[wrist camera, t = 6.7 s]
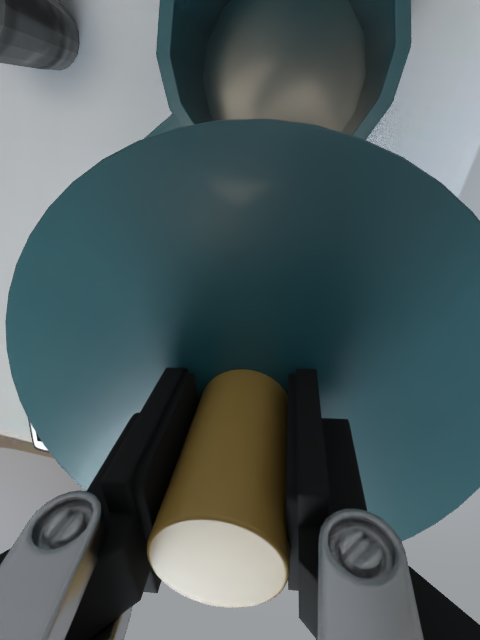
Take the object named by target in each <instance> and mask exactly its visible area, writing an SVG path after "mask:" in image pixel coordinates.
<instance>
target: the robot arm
mask: <svg viewBox="0 0 480 640" xmlns="http://www.w3.org/2000/svg"><path fill="white" fill-rule="evenodd" d="M198 404H199V401H198V395H197V388H196V381H195V375H194V373H189V372H188V369H187V368H174V367H168V368H166V369H165V370H164V372H163V374H162V375H161V377H160V379H159V381H158V382H157V384H156V386H155V387H154V389H153V391H152V393H151V394H150V396H149V398H148V399H147V401H146V403H145V405H144V406H143V408H142V410H141V412H140V413H135V414H134V415H133V416H132V417H131V418H130V420H129V422H128V423H127V425H126V427H125V428H124V430H123V432H122V433H121V435H120V437H119V438H118V440H117V441H116V443H115V445H114V446H113V448H112V450H111V451H110V453H109V455H108V456H107V458H106V460H105V461H104V463H103V465H102V466H101V468H100V470H99V471H98V473H97V475H96V476H95V478H94V480H93V481H92V483H91V484H90V486H89V488H88V489H87V491H74V492H68V493H65V494H62V495H60V496H58V497H55V498H54V499H52V500H50V501H49V502H47V503H46V504H44V506H42V507H41V508H40V509H39V510H37V511H36V513H35V514H34V515H33V516H32V518H31V519H30V520H29V521H28V523H27V525H26V526H25V528H24V529H23V531H22V532H21V534H20V536H19V537H18V539H17V540H16V542H15V543H14V545H13V546H12V548H11V549H9V550H7V551H5V552H4V553H2V554H0V640H124V637H125V634H126V630H127V627H128V623H129V619H130V616H131V611H132V606H133V605H134V604H135V603H137V602H138V601H140V600H141V597H142V594H143V592H151V593H158V590H159V586H160V583H161V579H160V578H159V577H158V576H157V575H156V574H155V572H154V571H153V569H152V568H151V566H150V563H149V561H148V556H147V543H148V539H149V536H150V533H151V531H152V528H153V525H154V523H155V520H156V517H157V514H158V512H159V509H160V506H161V504H162V501H163V498H164V496H165V493H166V490H167V488H168V485H169V482H170V479H171V477H172V474H173V471H174V469H175V466H176V463H177V461H178V458H179V455H180V452H181V450H182V447H183V444H184V442H185V439H186V436H187V434H188V431H189V428H190V426H191V423H192V420H193V417H194V415H195V412H196V409H197V407H198ZM286 521H287V538H288V541H289V546H290V572H289V578H288V589H289V590H297V591H299V618H300V619H301V620H302V622H303V623H304V624H305V625H306V627H307V628H308V629H309V630H310V632H311V633H312V634H313V635H314V637H315V638H316V640H480V625H479V624H478V623H477V622H475V621H474V620H473V619H472V618H471V617H469V616H468V615H467V614H466V613H465V612H463V611H462V610H461V609H460V608H459V607H457V606H456V605H455V604H454V603H453V602H451V601H450V600H449V599H448V598H447V597H445V596H444V595H443V594H442V593H441V592H439V591H438V590H437V589H436V588H435V587H433V586H432V585H431V584H430V583H429V582H427V581H426V580H425V579H424V578H423V577H421V576H420V575H419V574H418V573H417V572H415V571H414V570H413V569H412V568H411V567H409V566H408V562H407V558H406V553H405V549H404V547H403V544H402V541H401V539H400V537H399V536H398V534H397V533H396V532H395V530H394V529H393V527H392V526H390V525H389V524H388V523H387V522H386V521H385V520H383V519H382V518H381V517H379V516H377V515H375V514H373V513H371V512H369V511H367V507H366V502H365V497H364V492H363V487H362V482H361V477H360V472H359V468H358V463H357V458H356V453H355V448H354V443H353V438H352V433H351V428H350V424H349V420H348V419H335V418H322V417H321V407H320V398H319V388H318V379H317V370H316V369H296V374H288V413H287V456H286Z"/></svg>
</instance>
